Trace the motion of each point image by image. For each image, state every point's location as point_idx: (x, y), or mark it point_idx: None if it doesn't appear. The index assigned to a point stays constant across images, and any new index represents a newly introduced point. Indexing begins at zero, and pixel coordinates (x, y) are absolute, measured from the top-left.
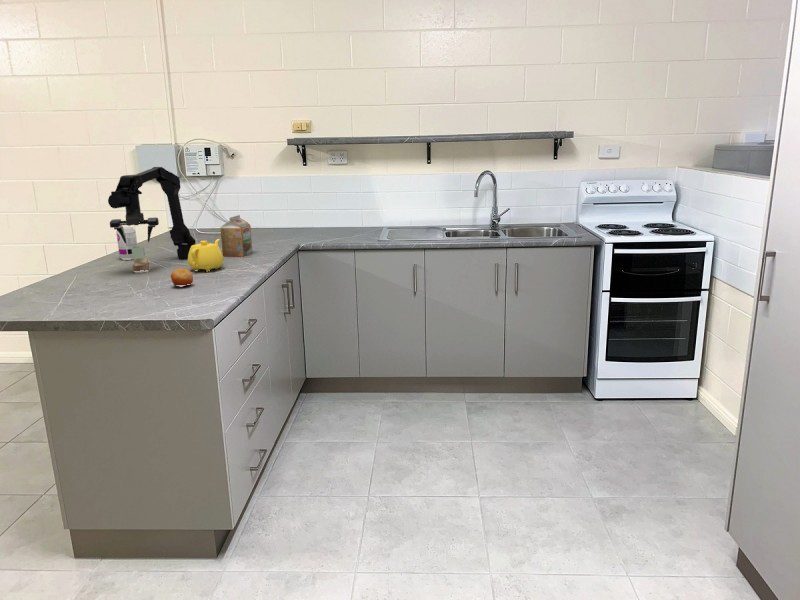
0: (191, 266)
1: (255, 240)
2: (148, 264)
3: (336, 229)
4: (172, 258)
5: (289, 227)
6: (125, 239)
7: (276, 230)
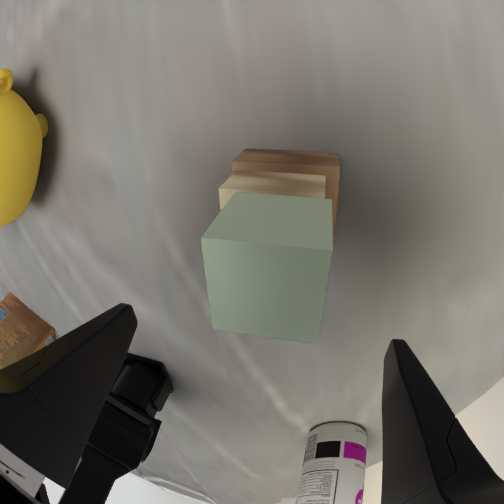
0: (28, 110)
1: None
2: None
3: None
4: (194, 391)
5: None
6: (392, 388)
7: None
